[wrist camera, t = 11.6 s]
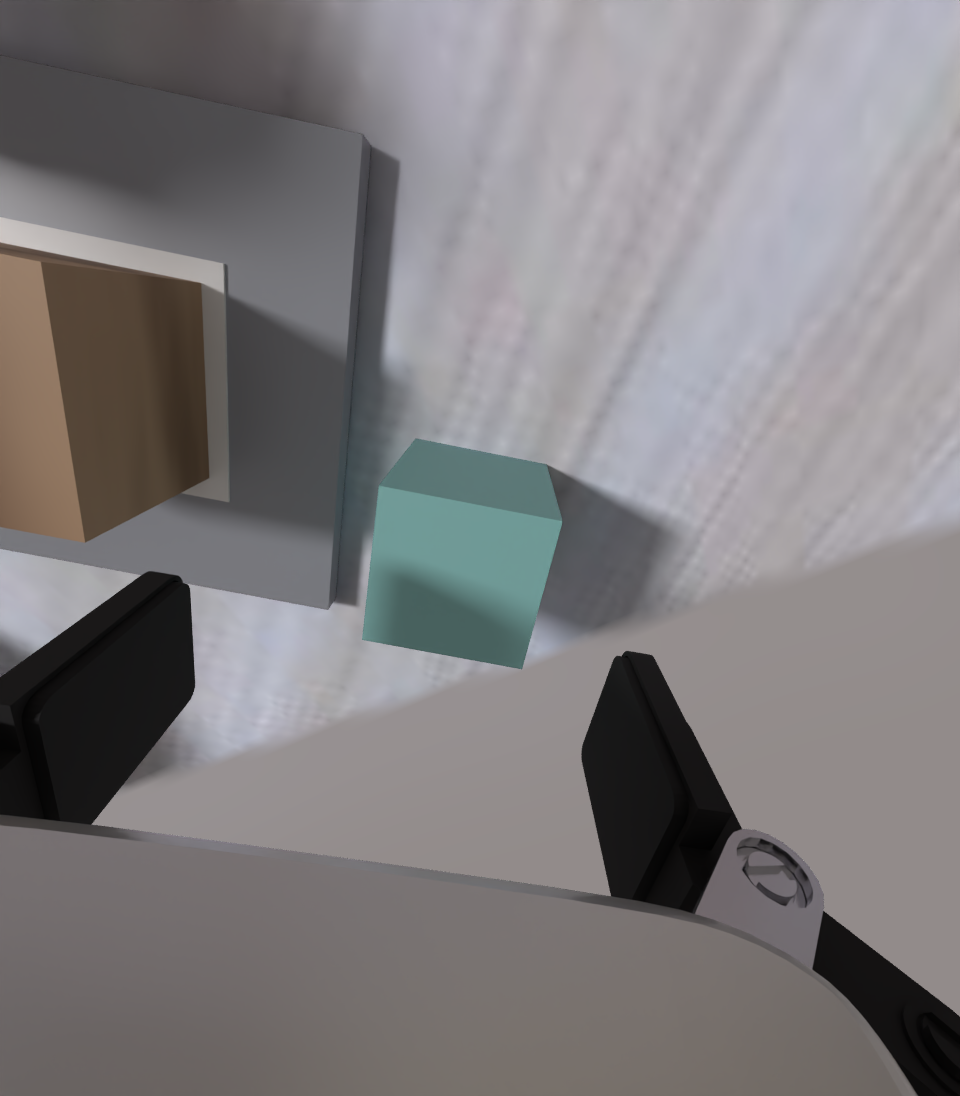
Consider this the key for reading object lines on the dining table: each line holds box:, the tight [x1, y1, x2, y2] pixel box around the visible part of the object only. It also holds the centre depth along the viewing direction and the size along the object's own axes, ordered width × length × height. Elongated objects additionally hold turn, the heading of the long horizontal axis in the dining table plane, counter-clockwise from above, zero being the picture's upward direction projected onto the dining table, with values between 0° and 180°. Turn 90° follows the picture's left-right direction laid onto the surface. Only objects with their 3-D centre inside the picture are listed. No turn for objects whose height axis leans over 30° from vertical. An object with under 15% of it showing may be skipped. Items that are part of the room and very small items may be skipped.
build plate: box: [0, 55, 371, 610], centre depth 18 cm, size 16×16×1 cm
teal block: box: [362, 439, 563, 669], centre depth 17 cm, size 5×5×6 cm
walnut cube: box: [0, 242, 209, 543], centre depth 14 cm, size 6×6×6 cm
